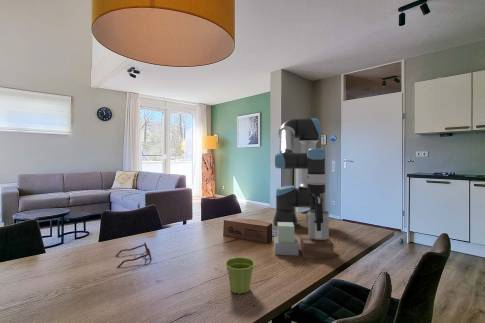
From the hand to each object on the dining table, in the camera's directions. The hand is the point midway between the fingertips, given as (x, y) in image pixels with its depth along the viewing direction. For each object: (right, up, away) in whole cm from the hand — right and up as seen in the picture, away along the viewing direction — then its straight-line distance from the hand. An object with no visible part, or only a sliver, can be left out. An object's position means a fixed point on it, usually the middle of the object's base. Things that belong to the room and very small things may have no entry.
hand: (315, 233), depth 114 cm
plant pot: (-33, -9, -31) cm, 46 cm away
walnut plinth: (0, -8, 0) cm, 8 cm away
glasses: (-78, -9, -6) cm, 79 cm away
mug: (0, -1, +1) cm, 1 cm away
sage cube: (-13, -3, +2) cm, 14 cm away
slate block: (-13, -8, +2) cm, 15 cm away
